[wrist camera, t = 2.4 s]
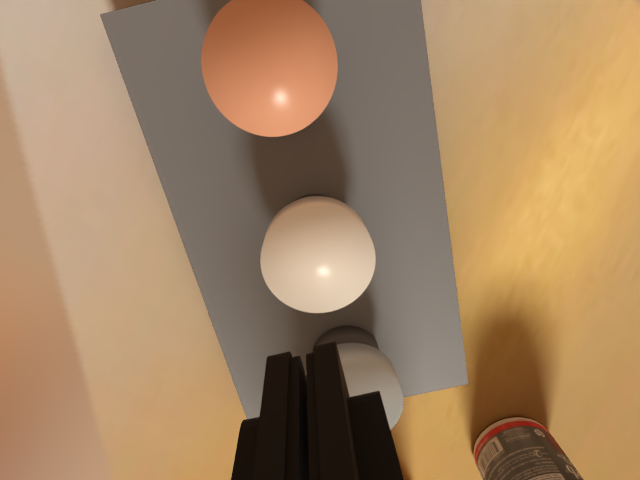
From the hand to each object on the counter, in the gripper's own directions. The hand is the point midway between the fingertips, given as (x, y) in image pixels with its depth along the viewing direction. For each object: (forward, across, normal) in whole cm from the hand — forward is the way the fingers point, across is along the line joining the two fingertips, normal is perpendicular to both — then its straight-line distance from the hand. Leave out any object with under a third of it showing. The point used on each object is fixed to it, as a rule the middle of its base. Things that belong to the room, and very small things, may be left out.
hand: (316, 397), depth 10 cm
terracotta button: (+10, 0, -8) cm, 13 cm away
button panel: (+15, 0, 0) cm, 15 cm away
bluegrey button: (+10, 0, +8) cm, 13 cm away
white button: (+10, 0, 0) cm, 10 cm away
